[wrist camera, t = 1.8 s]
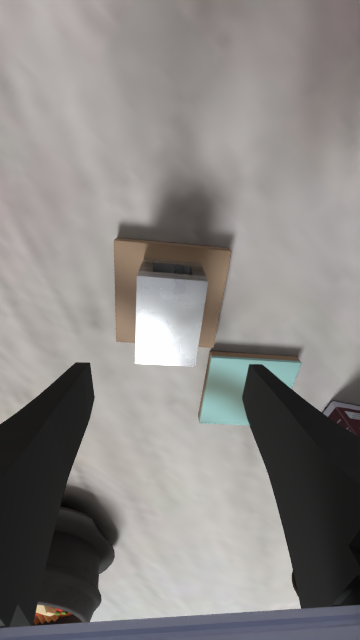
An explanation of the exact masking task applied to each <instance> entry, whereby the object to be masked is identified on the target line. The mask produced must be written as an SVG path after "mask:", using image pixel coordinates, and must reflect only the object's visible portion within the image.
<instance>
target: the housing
mask: <svg viewBox="0 0 360 640" xmlns="http://www.w3.org/2000/svg"><path fill="white" fill-rule="evenodd" d="M207 287H208V280H207V277H206V275H205V272H204V270H203V267H202V265H201V263H195V262H184V261H173V260H161V259H150V258H143V261H142V264H141V266H140V269H139V271H138V274H137V290H136V342H135V363H136V364H154V365H171V366H188V367H195V365H196V358H197V352H198V345H199V339H200V332H201V326H202V319H203V313H204V306H205V300H206V293H207Z"/></svg>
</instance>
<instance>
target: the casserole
mask: <svg viewBox="0 0 360 640" xmlns="http://www.w3.org/2000/svg"><path fill="white" fill-rule="evenodd" d="M114 557H115V556H114V549H113V547H112V545H111V544H110V543H109V542H108V541H107V540H106V539H105V538H104V537H103V536H102V535H101V533H100V532H99V531H98V529H97V527H96V525H95V523H94V522H93V520H92V518H90V517H89V516H88V515H86V514H85V513H83V512H80V511H77V510H74V509H70V508H66V507H61V506H60V510H59V514H58V518H57V522H56V526H55V529H54V533H53V537H52V542H51V546H50V550H49V555H48V559H47V563H46V567H45V572H44V576H43V581H42V586H41V590H40V595H39V600H38V604H37V609H36V614H35V619H34V623H33V626H39V625H54V624H70V623H86V622H90V620H91V617H92V615H93V612H94V611H95V610H96V609H97V608H98V606H99V605H100V603H101V594H100V592H99V589H98V579H99V574H100V573H102V572H103V571H105V570H106V569H107V568H108V567H109V566H110V565H111V564H112V562H113V560H114Z"/></svg>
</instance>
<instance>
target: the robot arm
mask: <svg viewBox="0 0 360 640" xmlns="http://www.w3.org/2000/svg"><path fill="white" fill-rule="evenodd" d="M242 400H243V404H244V409H245V413H246V416H247V420H248V422H249V425H250V428H251V430H252V433H253V435H254V438H255V441H256V443H257V446H258V448H259V451H260V453H261V456H262V458H263V461H264V464H265V466H266V469H267V472H268V475H269V478H270V481H271V485H272V488H273V492H274V496H275V499H276V503H277V506H278V510H279V514H280V518H281V522H282V525H283V529H284V534H285V538H286V542H287V546H288V550H289V554H290V558H291V563H292V567H293V572H294V577H295V581H296V586H297V591H298V595H299V600H300V605H301V609H289V610H273V611H258V612H242V613H226V614H211V615H195V616H179V617H164V618H148V619H133V620H117V621H101V622H86V623H70V624H54V625H39V626H33V623H34V619H35V614H36V609H37V604H38V600H39V595H40V590H41V586H42V581H43V576H44V572H45V567H46V563H47V559H48V555H49V550H50V546H51V542H52V537H53V533H54V529H55V526H56V522H57V518H58V514H59V510H60V506H61V502H62V498H63V495H64V491H65V487H66V483H67V480H68V477H69V474H70V471H71V468H72V465H73V463H74V460H75V457H76V455H77V452H78V449H79V447H80V444H81V441H82V438H83V436H84V433H85V430H86V428H87V425H88V422H89V419H90V415H91V411H92V407H93V402H94V390H93V383H92V375H91V367H90V363H75V364H74V365H72V366H71V367H70V368H69V369H68V370H67V371H66V372H65V373H63V374H62V375H61V376H60V377H59V378H58V379H57V380H56V381H55V382H54V383H52V384H51V385H50V386H49V387H48V388H47V389H46V390H44V391H43V392H42V393H41V394H40V395H39V396H37V397H36V398H35V399H34V400H32V401H31V402H30V403H29V404H27V405H26V406H25V407H24V408H22V409H21V410H20V411H18V412H17V413H16V414H14V415H13V416H12V417H10V418H9V419H7V420H6V421H4V422H3V423H2V424H0V640H360V437H359V436H357V435H355V434H354V433H352V432H350V431H349V430H347V429H346V428H344V427H342V426H341V425H339V424H338V423H336V422H335V421H333V420H332V419H330V418H329V417H327V416H326V415H324V414H323V413H322V412H320V411H319V410H317V409H316V408H315V407H313V406H312V405H311V404H309V403H308V402H307V401H306V400H304V399H303V398H302V397H300V396H299V395H298V394H297V393H296V392H294V391H293V390H292V389H291V388H289V387H288V386H287V385H286V384H285V383H284V382H282V381H281V380H280V379H279V378H278V377H277V376H276V375H274V374H273V373H272V372H271V371H270V370H269V369H267V368H266V367H265V366H264V365H262V364H249V367H248V372H247V376H246V381H245V386H244V390H243V395H242Z"/></svg>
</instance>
